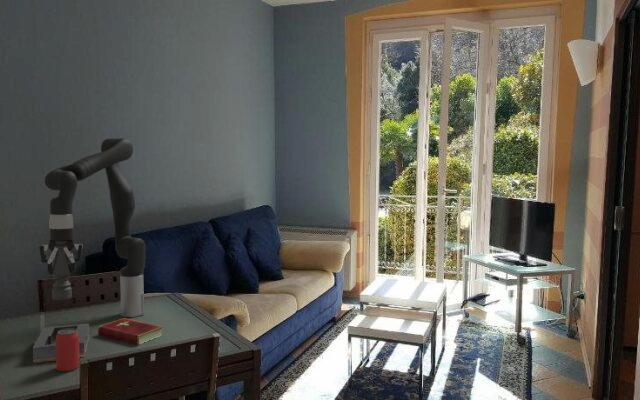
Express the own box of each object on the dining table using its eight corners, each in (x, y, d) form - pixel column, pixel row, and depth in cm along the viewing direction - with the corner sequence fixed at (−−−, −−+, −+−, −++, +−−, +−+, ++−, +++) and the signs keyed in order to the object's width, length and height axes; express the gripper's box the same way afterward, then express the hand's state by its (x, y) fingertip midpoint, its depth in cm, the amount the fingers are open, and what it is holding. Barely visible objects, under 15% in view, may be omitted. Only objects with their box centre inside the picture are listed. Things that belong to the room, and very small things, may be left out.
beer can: (61, 364, 160) (60, 327, 159) (82, 363, 160) (82, 327, 160) (52, 372, 153) (51, 334, 152) (74, 372, 154) (73, 334, 153)
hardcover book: (138, 346, 177) (138, 335, 177) (98, 336, 187) (97, 325, 186) (163, 336, 188) (162, 325, 187) (123, 327, 197) (123, 317, 197)
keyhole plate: (89, 336, 185) (89, 323, 185) (84, 357, 166) (84, 342, 165) (44, 340, 180) (43, 327, 180) (33, 362, 161) (32, 347, 160)
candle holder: (63, 300, 174) (62, 229, 173) (48, 299, 176) (47, 228, 174) (75, 296, 180) (75, 227, 179) (60, 294, 182) (60, 227, 180)
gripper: (84, 225, 182) (85, 270, 183) (40, 226, 177) (41, 272, 178) (82, 227, 175) (82, 274, 176) (36, 228, 170) (36, 276, 171)
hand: (61, 273), depth 177 cm, fingers closed on candle holder, 6 cm apart
